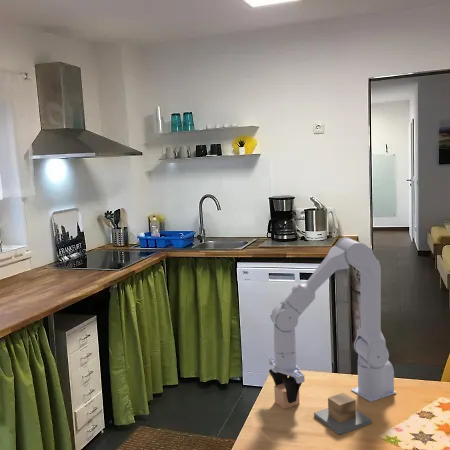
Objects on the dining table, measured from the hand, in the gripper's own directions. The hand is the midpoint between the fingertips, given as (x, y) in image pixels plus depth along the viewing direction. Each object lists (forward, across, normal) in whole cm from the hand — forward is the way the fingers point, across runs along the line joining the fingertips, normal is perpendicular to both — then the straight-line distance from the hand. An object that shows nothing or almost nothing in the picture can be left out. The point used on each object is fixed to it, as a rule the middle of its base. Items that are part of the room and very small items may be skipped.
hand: (286, 397), depth 135 cm
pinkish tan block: (+1, 0, 0) cm, 1 cm away
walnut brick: (0, +14, +7) cm, 16 cm away
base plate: (+1, +14, +7) cm, 16 cm away
